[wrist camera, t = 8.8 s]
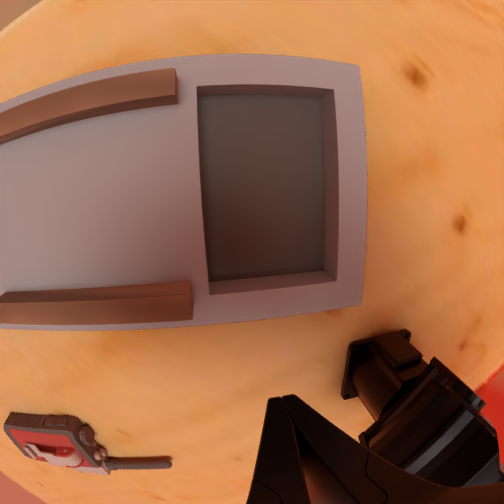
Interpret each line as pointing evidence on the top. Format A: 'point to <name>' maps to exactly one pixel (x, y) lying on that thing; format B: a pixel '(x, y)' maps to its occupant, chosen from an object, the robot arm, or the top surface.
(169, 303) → the channel
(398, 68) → the top surface
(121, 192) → the deck
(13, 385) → the top surface
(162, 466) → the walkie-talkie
